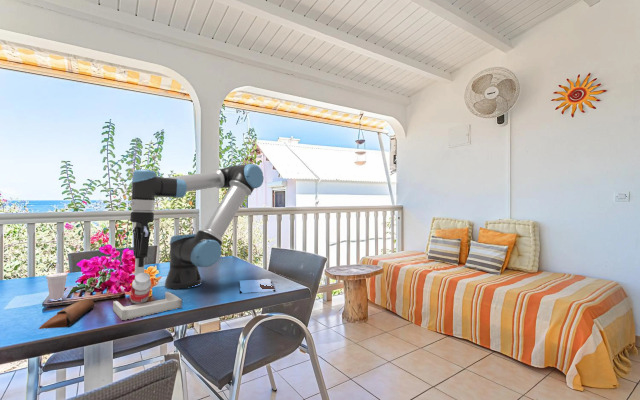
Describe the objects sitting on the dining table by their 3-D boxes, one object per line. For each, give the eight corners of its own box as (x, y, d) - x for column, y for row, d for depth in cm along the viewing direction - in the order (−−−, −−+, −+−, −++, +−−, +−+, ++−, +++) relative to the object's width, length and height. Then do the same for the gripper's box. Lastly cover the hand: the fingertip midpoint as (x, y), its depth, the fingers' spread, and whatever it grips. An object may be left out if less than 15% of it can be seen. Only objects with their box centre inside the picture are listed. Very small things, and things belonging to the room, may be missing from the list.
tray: (168, 299, 123) (168, 291, 123) (181, 308, 114) (181, 299, 114) (113, 310, 110) (113, 301, 110) (122, 320, 101) (123, 311, 101)
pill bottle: (133, 290, 120) (136, 269, 116) (150, 293, 122) (154, 272, 117) (127, 303, 115) (130, 282, 110) (145, 306, 117) (149, 285, 112)
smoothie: (54, 303, 116) (55, 265, 116) (40, 302, 117) (41, 264, 118) (71, 298, 122) (72, 262, 123) (58, 297, 124) (59, 261, 124)
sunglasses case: (66, 309, 110) (78, 292, 111) (86, 318, 112) (97, 301, 113) (36, 329, 93) (50, 309, 94) (60, 339, 94) (74, 319, 95)
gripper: (126, 210, 120) (123, 273, 119) (136, 211, 110) (132, 280, 109) (148, 211, 125) (144, 271, 124) (159, 212, 116) (156, 277, 115)
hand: (139, 275), depth 117 cm, fingers closed
